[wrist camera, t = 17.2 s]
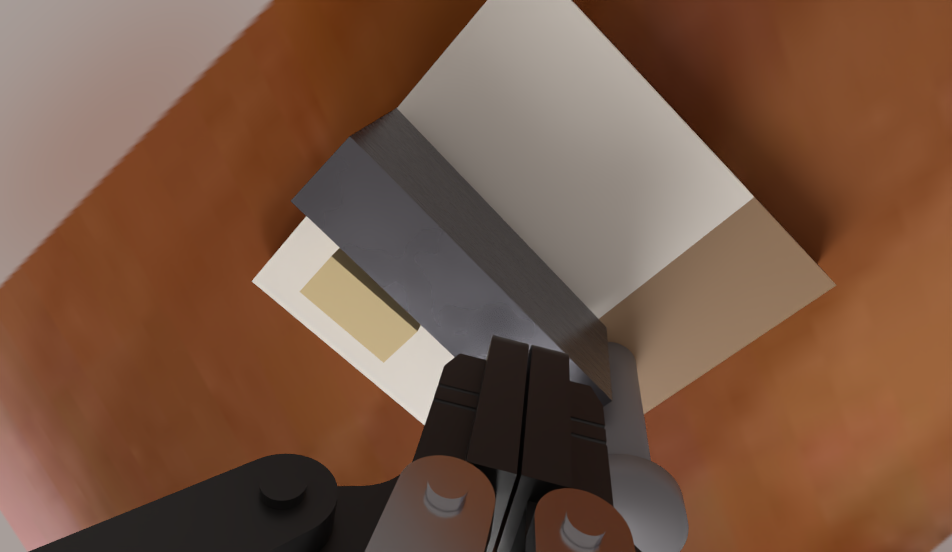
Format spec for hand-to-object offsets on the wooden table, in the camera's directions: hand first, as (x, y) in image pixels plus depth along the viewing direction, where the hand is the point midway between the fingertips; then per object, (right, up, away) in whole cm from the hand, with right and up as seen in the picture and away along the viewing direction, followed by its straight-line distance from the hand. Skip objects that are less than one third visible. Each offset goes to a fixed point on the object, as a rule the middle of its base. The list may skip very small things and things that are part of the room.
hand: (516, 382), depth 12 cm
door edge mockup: (+1, +3, +16) cm, 16 cm away
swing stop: (-1, +3, +12) cm, 13 cm away
